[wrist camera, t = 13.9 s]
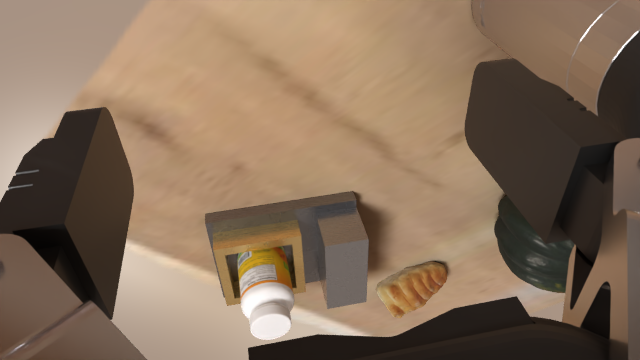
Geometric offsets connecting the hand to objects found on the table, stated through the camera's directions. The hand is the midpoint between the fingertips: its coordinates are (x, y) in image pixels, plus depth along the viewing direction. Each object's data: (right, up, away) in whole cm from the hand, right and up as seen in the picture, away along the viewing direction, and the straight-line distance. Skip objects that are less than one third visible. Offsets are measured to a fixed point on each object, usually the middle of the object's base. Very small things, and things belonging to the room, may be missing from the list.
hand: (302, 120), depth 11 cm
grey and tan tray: (-4, -8, +45) cm, 45 cm away
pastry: (+12, -15, +54) cm, 57 cm away
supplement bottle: (-6, -10, +43) cm, 45 cm away
